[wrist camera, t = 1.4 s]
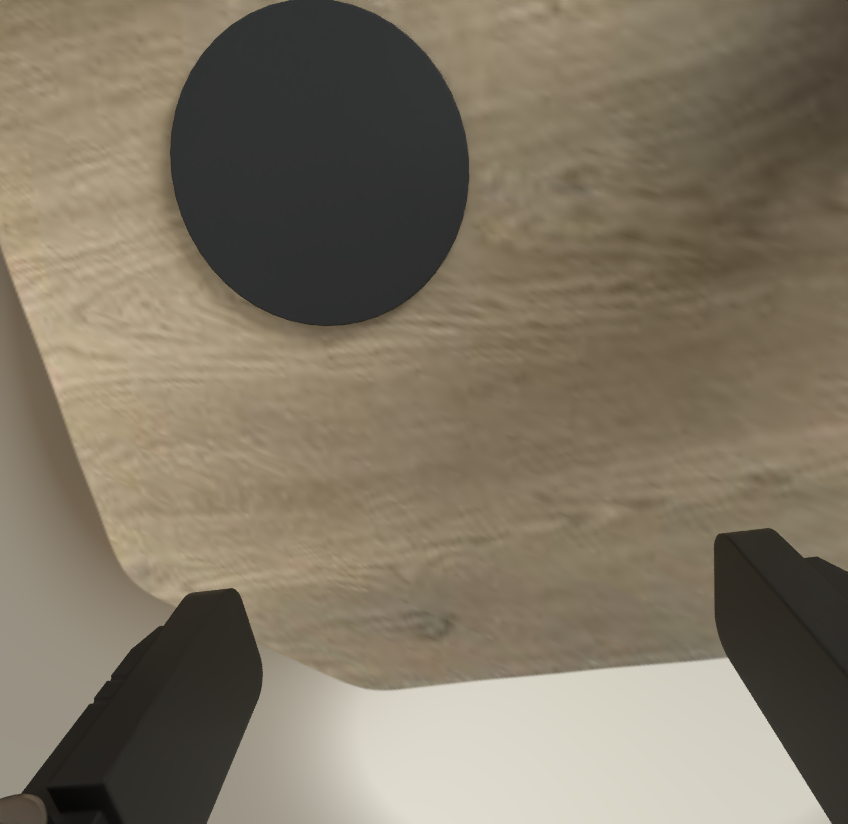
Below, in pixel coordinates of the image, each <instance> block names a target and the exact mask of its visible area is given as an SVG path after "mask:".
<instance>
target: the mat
mask: <svg viewBox="0 0 848 824" xmlns="http://www.w3.org/2000/svg"><path fill="white" fill-rule="evenodd" d="M170 156H171V173H172V180H173V185H174V191H175V196H176V199H177V203H178V206H179V209H180V213H181V216H182V218H183V220H184V223H185V225H186V227H187V230H188V232H189V234H190V236H191V238H192V240H193V241H194V243H195V245H196V247H197V248H198V250H199V252H200V253H201V255H202V256H203V257H204V259H205V260H206V261H207V263H208V264H209V266H210V267H211V268H212V269H213V270H214V271H215V273H216V274H217V275H218V276H219V277H220V278H221V279H222V280H223V281H224V282H225V283H226V284H227V285H228V286H229V287H231V288H232V289H233V290H234V291H235V292H236V293H238V294H239V295H240V296H241V297H243V298H244V299H246V300H247V301H249V302H250V303H252V304H253V305H255V306H257V307H259V308H261V309H263V310H265V311H267V312H269V313H271V314H273V315H276V316H278V317H281V318H284V319H287V320H290V321H294V322H299V323H303V324H309V325H321V326H334V325H346V324H352V323H357V322H362V321H365V320H368V319H371V318H374V317H377V316H380V315H382V314H384V313H386V312H388V311H390V310H392V309H394V308H396V307H397V306H399V305H400V304H402V303H403V302H405V301H406V300H408V299H409V298H410V297H412V296H413V295H414V294H415V293H416V292H417V291H419V290H420V289H421V288H422V287H423V286H424V285H425V284H426V283H427V282H428V280H429V279H430V278H431V277H432V276H433V275H434V274H435V273H436V271H437V270H438V268H439V267H440V265H441V264H442V262H443V261H444V259H445V258H446V256H447V255H448V253H449V251H450V249H451V247H452V245H453V243H454V241H455V239H456V236H457V233H458V230H459V228H460V225H461V222H462V219H463V215H464V210H465V206H466V201H467V193H468V183H469V157H468V149H467V143H466V136H465V131H464V128H463V124H462V120H461V117H460V113H459V111H458V108H457V106H456V103H455V101H454V98H453V96H452V94H451V91H450V90H449V88H448V86H447V84H446V82H445V81H444V79H443V77H442V75H441V74H440V72H439V71H438V69H437V68H436V67H435V65H434V64H433V63H432V61H431V60H430V59H429V57H428V56H427V55H426V53H425V52H424V51H423V50H422V49H421V48H420V47H419V46H418V45H417V44H416V43H415V42H414V41H413V40H412V39H411V38H410V37H409V36H407V35H406V34H405V33H403V32H402V31H401V30H400V29H398V28H397V27H396V26H395V25H393V24H392V23H390V22H388V21H386V20H385V19H383V18H381V17H379V16H378V15H376V14H374V13H372V12H370V11H367V10H365V9H362V8H359V7H357V6H354V5H351V4H347V3H342V2H338V1H334V0H289V1H285V2H281V3H277V4H273V5H269V6H267V7H264V8H262V9H259V10H257V11H255V12H252V13H250V14H248V15H247V16H245V17H244V18H242V19H240V20H239V21H237V22H235V23H234V24H232V25H231V26H230V27H229V28H227V29H226V30H225V31H224V32H223V33H222V34H220V35H219V36H218V37H217V38H216V39H215V40H214V41H213V42H212V43H211V45H210V46H209V47H208V48H207V49H206V50H205V51H204V53H203V54H202V55H201V57H200V58H199V60H198V61H197V63H196V65H195V66H194V68H193V69H192V71H191V72H190V75H189V77H188V79H187V81H186V83H185V85H184V87H183V89H182V92H181V95H180V98H179V101H178V105H177V108H176V111H175V116H174V122H173V127H172V133H171V150H170Z"/></svg>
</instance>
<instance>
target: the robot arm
mask: <svg viewBox="0 0 848 824" xmlns="http://www.w3.org/2000/svg"><path fill="white" fill-rule="evenodd" d="M714 587H715V621H716V627H717V631H718V635H719V638H720V641H721V644H722V646H723V649H724V651H725V653H726V655H727V657H728V658H729V660H730V661H731V663H732V665H733V666H734V668H735V670H736V671H737V673H738V674H739V676H740V677H741V679H742V681H743V682H744V684H745V685H746V687H747V689H748V690H749V692H750V693H751V695H752V697H753V698H754V700H755V701H756V703H757V705H758V706H759V708H760V709H761V711H762V713H763V714H764V716H765V717H766V719H767V721H768V722H769V724H770V725H771V727H772V729H773V730H774V732H775V733H776V735H777V737H778V738H779V740H780V741H781V743H782V744H783V746H784V748H785V749H786V751H787V752H788V754H789V756H790V757H791V759H792V761H793V762H794V764H795V765H796V767H797V768H798V770H799V772H800V773H801V775H802V777H803V778H804V780H805V781H806V783H807V785H808V786H809V788H810V789H811V791H812V793H813V794H814V796H815V797H816V799H817V801H818V802H819V804H820V805H821V807H822V809H823V810H824V812H825V813H826V815H827V817H828V818H829V820H830V821H831V823H832V824H848V572H847V571H845V570H843V569H841V568H839V567H837V566H835V565H833V564H831V563H829V562H827V561H825V560H823V559H821V558H819V557H809V558H803V557H802V556H801V555H800V554H799V553H798V552H797V551H796V550H795V549H794V548H793V547H792V546H791V545H790V544H789V543H788V542H787V541H786V540H784V539H783V538H782V537H781V536H780V535H779V534H778V533H777V532H776V531H775V530H773V529H770V528H766V529H757V530H748V531H739V532H731V533H722V534H718V535H717V537H716V539H715V544H714ZM262 677H263V671H262V662H261V658H260V654H259V651H258V648H257V645H256V642H255V639H254V635H253V632H252V629H251V626H250V623H249V620H248V617H247V614H246V611H245V608H244V605H243V602H242V599H241V596H240V594H239V593H238V592H237V591H236V590H235V589H233V588H229V589H220V590H212V591H203V592H194V593H190V594H188V595H186V596H185V597H184V599H183V600H182V601H181V603H180V604H179V605H178V607H177V608H176V610H175V611H174V612H173V614H172V615H171V617H170V618H169V619H168V621H167V622H166V624H165V625H164V626H159V627H158V628H157V629H155V630H154V631H153V632H152V633H151V634H149V635H148V636H147V637H146V638H145V639H143V640H142V641H141V642H140V643H139V644H137V645H136V646H135V647H134V648H132V649H131V650H130V652H129V653H128V654H127V656H126V657H125V658H124V660H123V661H122V662H121V663H120V665H119V666H118V668H117V669H116V670H115V671H114V673H113V674H112V675H111V681H107V682H106V683H105V684H104V686H103V687H102V688H101V690H100V691H99V692H98V694H97V695H96V696H95V698H94V703H93V704H89V705H88V707H87V708H86V709H85V711H84V712H83V713H82V715H81V716H80V717H79V718H78V720H77V721H76V722H75V724H74V725H73V726H72V728H71V729H70V730H69V732H68V733H67V734H66V735H65V737H64V738H63V739H62V741H61V742H60V743H59V745H58V746H57V747H56V749H55V750H54V751H53V753H52V754H51V755H50V756H49V758H48V759H47V760H46V762H45V763H44V764H43V766H42V767H41V768H40V770H39V771H38V772H37V773H36V775H35V776H34V777H33V779H32V780H31V782H30V783H29V784H28V785H27V787H26V788H25V789H24V791H23V792H22V793H21V794H17V795H12V796H8V797H4V798H1V799H0V824H207V821H208V819H209V816H210V814H211V812H212V809H213V807H214V804H215V802H216V800H217V797H218V795H219V792H220V790H221V788H222V785H223V783H224V780H225V778H226V775H227V773H228V771H229V768H230V766H231V764H232V761H233V759H234V756H235V754H236V752H237V749H238V747H239V744H240V742H241V740H242V737H243V735H244V732H245V730H246V728H247V725H248V723H249V720H250V718H251V716H252V713H253V711H254V708H255V706H256V704H257V701H258V699H259V695H260V692H261V687H262Z"/></svg>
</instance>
